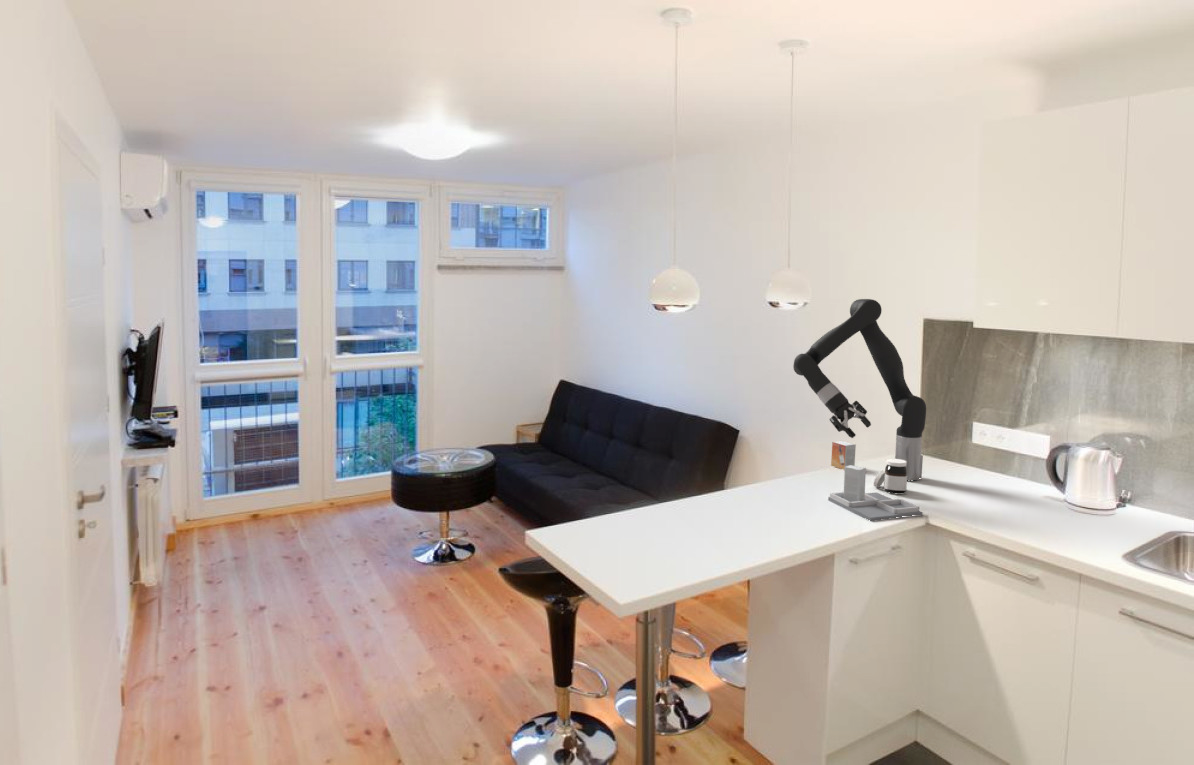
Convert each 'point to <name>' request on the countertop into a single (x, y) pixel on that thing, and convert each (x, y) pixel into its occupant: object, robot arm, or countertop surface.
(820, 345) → the robot arm
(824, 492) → the countertop surface
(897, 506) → the compartment tray
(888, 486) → the spread jar
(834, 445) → the small box
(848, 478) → the skincare box
